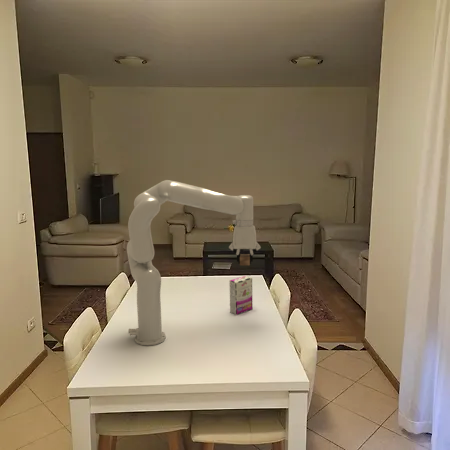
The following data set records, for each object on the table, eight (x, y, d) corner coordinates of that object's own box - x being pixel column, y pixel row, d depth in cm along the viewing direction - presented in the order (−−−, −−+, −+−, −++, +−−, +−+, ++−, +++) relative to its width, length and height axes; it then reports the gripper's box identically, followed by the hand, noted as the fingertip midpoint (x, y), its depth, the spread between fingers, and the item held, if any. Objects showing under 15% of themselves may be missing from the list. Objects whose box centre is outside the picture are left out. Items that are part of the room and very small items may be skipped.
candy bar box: (245, 306, 203) (245, 275, 200) (252, 309, 199) (252, 277, 196) (229, 312, 196) (229, 279, 193) (236, 315, 192) (236, 282, 189)
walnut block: (239, 265, 180) (239, 256, 179) (240, 262, 184) (240, 254, 183) (249, 265, 180) (249, 256, 179) (249, 262, 184) (249, 254, 183)
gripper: (225, 224, 175) (225, 265, 179) (264, 224, 174) (263, 265, 178) (226, 221, 183) (226, 260, 186) (263, 221, 182) (263, 261, 185)
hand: (244, 262), depth 182 cm, fingers closed on walnut block, 4 cm apart
